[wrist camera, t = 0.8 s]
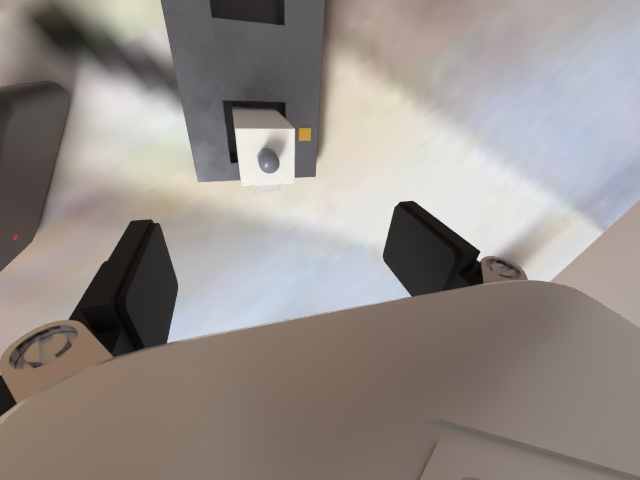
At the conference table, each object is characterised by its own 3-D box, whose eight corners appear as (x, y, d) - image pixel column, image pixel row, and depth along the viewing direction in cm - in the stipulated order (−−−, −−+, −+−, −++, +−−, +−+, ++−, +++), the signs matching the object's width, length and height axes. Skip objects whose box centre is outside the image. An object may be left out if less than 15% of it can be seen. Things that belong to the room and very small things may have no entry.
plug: (232, 106, 25) (235, 132, 16) (274, 107, 26) (298, 132, 17) (237, 156, 28) (243, 202, 19) (275, 155, 29) (297, 199, 20)
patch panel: (139, -132, 17) (126, -160, 15) (320, -89, 20) (331, -108, 18) (199, 173, 28) (197, 183, 26) (309, 169, 31) (316, 177, 29)
